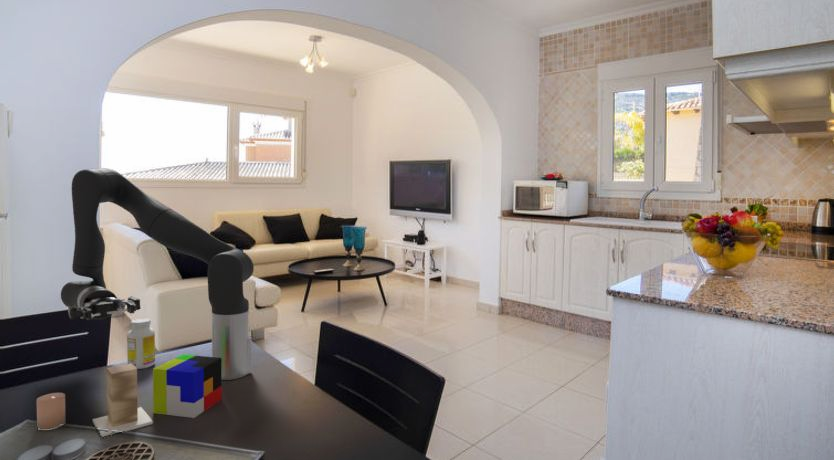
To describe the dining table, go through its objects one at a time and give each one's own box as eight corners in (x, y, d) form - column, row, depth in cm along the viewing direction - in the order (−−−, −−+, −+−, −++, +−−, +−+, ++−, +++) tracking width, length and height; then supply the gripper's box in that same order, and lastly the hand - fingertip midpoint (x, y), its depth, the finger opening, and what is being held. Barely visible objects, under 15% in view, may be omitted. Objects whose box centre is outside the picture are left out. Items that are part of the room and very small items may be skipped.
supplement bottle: (157, 361, 137) (157, 317, 136) (152, 368, 131) (152, 322, 130) (130, 362, 135) (130, 318, 134) (124, 371, 129) (124, 324, 128)
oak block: (132, 413, 102) (131, 363, 102) (137, 420, 99) (137, 369, 98) (107, 419, 99) (106, 367, 99) (112, 427, 96) (111, 374, 95)
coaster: (141, 409, 106) (141, 406, 106) (152, 423, 99) (152, 421, 99) (92, 421, 99) (92, 419, 99) (101, 438, 93) (101, 435, 93)
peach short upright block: (63, 418, 101) (63, 390, 100) (67, 426, 97) (66, 397, 97) (36, 425, 97) (35, 396, 97) (38, 433, 94) (37, 403, 94)
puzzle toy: (194, 418, 102) (193, 372, 102) (153, 413, 104) (152, 368, 104) (221, 399, 112) (221, 357, 112) (183, 395, 114) (183, 354, 113)
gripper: (61, 291, 116) (73, 300, 105) (127, 283, 126) (145, 291, 115) (63, 321, 117) (75, 334, 105) (129, 311, 127) (146, 322, 115)
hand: (111, 312), depth 110 cm, fingers open, 8 cm apart
